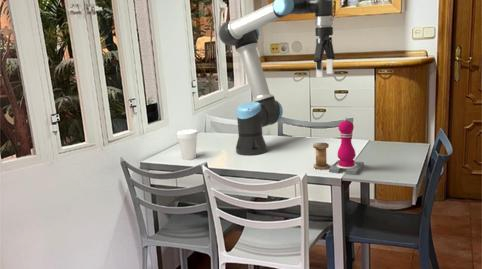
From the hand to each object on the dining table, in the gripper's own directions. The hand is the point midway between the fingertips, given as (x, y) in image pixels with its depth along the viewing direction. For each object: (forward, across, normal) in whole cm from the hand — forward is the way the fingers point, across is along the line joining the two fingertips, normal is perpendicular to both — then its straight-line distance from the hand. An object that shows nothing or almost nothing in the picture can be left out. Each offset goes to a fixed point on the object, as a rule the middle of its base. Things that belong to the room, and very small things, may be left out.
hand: (324, 75), depth 206 cm
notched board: (+36, -20, -16) cm, 44 cm away
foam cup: (+37, -25, +60) cm, 75 cm away
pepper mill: (+35, -20, -16) cm, 43 cm away
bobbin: (+36, -21, -5) cm, 42 cm away
